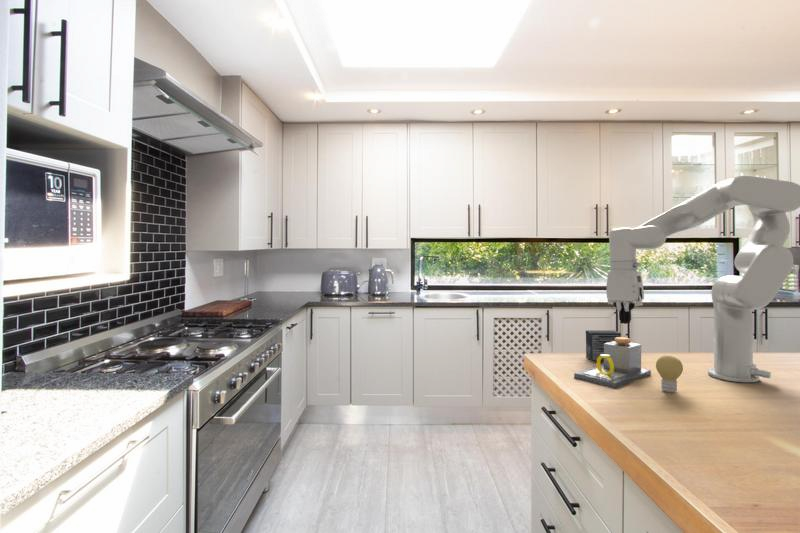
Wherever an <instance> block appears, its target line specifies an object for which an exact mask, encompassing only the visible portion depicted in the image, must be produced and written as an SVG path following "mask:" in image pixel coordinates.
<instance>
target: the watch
mask: <svg viewBox="0 0 800 533" xmlns="http://www.w3.org/2000/svg"><path fill="white" fill-rule="evenodd" d="M602 358H606V359H607V360H608V362H609V364H610V370H609V373H606V372H604V371H603V370H602V368H601V365H602V364H601V359H602ZM595 364H596V366H597V369H598V370H599V372H600V373H602V374H605V375H611V374H612V373H613V371H614V363H613V361H612V359H611V358H610V355H608V354H600V356H599V357H598V358H597V362H596V363H595Z"/></svg>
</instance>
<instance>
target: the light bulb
mask: <svg viewBox="0 0 800 533" xmlns="http://www.w3.org/2000/svg"><path fill="white" fill-rule="evenodd" d="M655 368H656V371H657V373H658V374H659V375H660V377H661V383H660V384H661V386H660V388H661V390H662V391H663V392H665V393H670V394H671V393H676V392H677V391H678V388H677V387H678V381H677V379H678V378H679V377H681V375H682V373H683V371H684V366H683V363H682V361H681V360H680V359H679V358H677V357H675V356H672V355H663V356H661V357H659V358H658V359H657V361H656V363H655Z"/></svg>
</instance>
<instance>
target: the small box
mask: <svg viewBox="0 0 800 533" xmlns="http://www.w3.org/2000/svg"><path fill="white" fill-rule="evenodd" d="M616 337H622V332H619V331H617V330H615V329H614V330H612V329H611V330H610V329H609V330H605V329H604V330H599V329H597V330H590V329H589V330H587V329H586V330H585V358H586V359H588V360H589V361H590V360H591V361H590V362H592V361H594V362H595V361H597V358H598V357H599V356H600V354H604V343H608V342H612V341H615V338H616ZM601 361H603V362H604V358H602V359H601Z"/></svg>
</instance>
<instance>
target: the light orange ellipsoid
mask: <svg viewBox="0 0 800 533" xmlns="http://www.w3.org/2000/svg"><path fill="white" fill-rule="evenodd" d="M615 342H616V343H618V344H619V345H627V344H629V343H631V338H629V337H622V336H621V337H616V338H615Z"/></svg>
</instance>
